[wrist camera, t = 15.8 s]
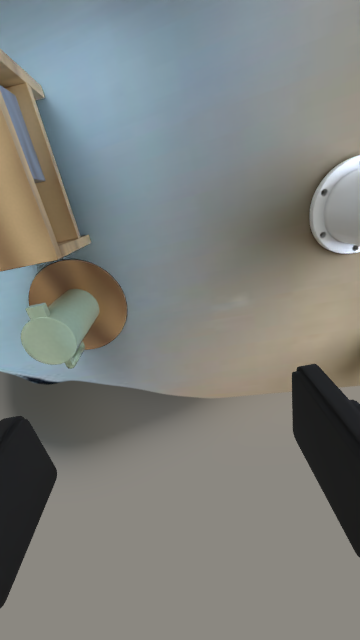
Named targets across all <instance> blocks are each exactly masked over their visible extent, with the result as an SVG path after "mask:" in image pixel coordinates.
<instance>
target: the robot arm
mask: <svg viewBox="0 0 360 640" xmlns="http://www.w3.org/2000/svg"><path fill="white" fill-rule="evenodd" d="M321 191H322V194H321ZM309 220H310V227H311V231H312V234H313V235H314V237H315V239H316V240H317V242H318V243H319V244H320V245H321V246H323V247H324V248H326V249H327V250H330V251H332V252H336V253H340V254H352V253H357V252H360V155H358V156H355V157H352V158H349V159H347V160H345V161H343V162H342V163H340V164H338V165H337V166H336V167H335V168H333V169H332V170H331V171H330V172H329V173H328V174H327V175H326V176H325V177H324V179H323V180H322V181H321V183H320V184H319V186H318V188H317V189H316V192H315V194H314V196H313V199H312V202H311V206H310V214H309ZM320 234H321V235H320ZM292 408H293V432H294V437H295V439H296V441H297V443H298V445H299V447H300V449H301V451H302V453H303V455H304V456H305V458H306V460H307V462H308V464H309V466H310V468H311V470H312V471H313V473H314V475H315V477H316V479H317V481H318V483H319V485H320V486H321V488H322V490H323V492H324V494H325V496H326V498H327V500H328V502H329V503H330V505H331V507H332V509H333V511H334V513H335V514H336V516H337V519H338V520H339V522H340V524H341V526H342V528H343V530H344V532H345V533H346V536H347V537H348V539H349V541H350V543H351V545H352V547H353V549H354V550H355V552H356V554H357V555H358V556H359V557H360V404H359V403H358V402H357V401H354V400H349V399H348V398H347V397H346V396H345V395H344V394H343V393H342V391H341V390H340V389H339V388H338V387H337V386H336V385H335V384H334V383H333V382H332V380H331V379H330V378H329V377H328V376H327V375H326V374H325V373H324V372H323V371H322V369H321V368H320V367H319V366H318V365H317V364H311V365H305V366H300V367H297V371H296V372H293V373H292ZM56 478H57V470H56V468H55V466H54V464H53V462H52V461H51V459H50V457H49V455H48V454H47V452H46V450H45V448H44V447H43V445H42V443H41V442H40V440H39V438H38V436H37V434H36V433H35V431H34V429H33V427H32V426H31V424H30V422H29V421H28V420H27V419H24V417H22V416H16V417H11V418H6V419H3V420H1V421H0V608H1V607H2V606H3V605H4V603H5V601H6V599H7V597H8V595H9V592H10V589H11V587H12V585H13V582H14V580H15V578H16V575H17V573H18V570H19V568H20V566H21V563H22V561H23V558H24V556H25V553H26V551H27V549H28V546H29V544H30V541H31V539H32V537H33V534H34V532H35V529H36V527H37V525H38V522H39V520H40V517H41V515H42V512H43V510H44V508H45V505H46V503H47V500H48V498H49V496H50V493H51V491H52V488H53V486H54V483H55V481H56Z"/></svg>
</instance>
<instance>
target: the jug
mask: <svg viewBox="0 0 360 640" xmlns="http://www.w3.org/2000/svg"><path fill="white" fill-rule="evenodd" d="M26 311H27V313H28V316H29V318H30V321H29V322H28V323H26V324H25V326H24V327H23V329H22V332H21V342H22V345H23V347H24V349H25V350H26V352H27V353H28V354H29V355H30V356H31V357H32V358H34V359H35V360H37V361H39V362H42V363H45V364H50V365H57V364H62V363H65V364H66V366H67V367H68V368H69V369H72V368H74V367H75V365H76V364H77V362H78V360H79V358H80V357H81V355H82V353H83V352H84V350H85V345H84V342H83V340H84V338H85V337H86V335H87V334H88V332H89V331H90V329H91V327H92V326H93V324H94V323H95V321H96V320H97V318H98V315H99V305H98V303H97V301H96V299H95V298H94V297H93V296H92V295H91V294H90V293H88V292H87V291H84V290H81V289H70V290H67V291H65V292H64V293H62V294H61V295H60V296H59V297H58V298H56V299H55V300H54V301H53V302H52V303H50V304H49V305H48V306H47V304H46V303H41V304H36V305H30V306H28V307H27V308H26Z"/></svg>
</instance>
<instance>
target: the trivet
mask: <svg viewBox="0 0 360 640" xmlns="http://www.w3.org/2000/svg"><path fill="white" fill-rule="evenodd" d="M70 289H81V290H84V291H87V292H88V293H90V294H91V295H92V296H93V297H94V298H95V299H96V301H97V303H98V305H99V315H98V318H97V320H96V321H95V323H94V324H93V326H92V327H91V329H90V331H89V332H88V334H87V335H86V337H85V338H84V340H83V342H84V345H85V350H88V349H95V348H99V347H102V346H104V345H106V344H108V343H110V342H111V341H113V340H114V339H115V338H116V337H117V336H118V335H119V333H120V332H121V330H122V329H123V327H124V324H125V321H126V317H127V303H126V298H125V295H124V293H123V291H122V289H121V287H120V285H119V284H118V282H117V281H116V280H115V279H114V278H113V277H112V276H111V275H110V274H109V273H108V272H107V271H105V270H104V269H102V268H101V267H99V266H97V265H95V264H93V263H90V262H87V261H83V260H76V259H68V260H61V261H58V262H55V263H52V264H50V265H48V266H47V267H45V268H44V269H42V270H41V271H40V272H39V273H38V274H37V276H36V277H35V278H34V280H33V282H32V284H31V287H30V291H29V306H30V305H36V304H41V303H46V304H47V306H48V305H49V304H50V303H52V302H53V301H54V300H55V299H56V298H58V297H59V296H60V295H61V294H62V293H64V292H65V291H67V290H70Z"/></svg>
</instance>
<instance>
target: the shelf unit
mask: <svg viewBox="0 0 360 640" xmlns="http://www.w3.org/2000/svg"><path fill="white" fill-rule="evenodd" d="M44 98H45V97H44V93H43V90H42V87H41V85H40V84H38V83H37V82H36V81H35V80H34V79H33V78H32V77H31V76H30V75H29V74H27V73H26V72H25V71H24V70H23V69H22V68H21V67H20V66H19V65H18V64H16V63H15V62H14V61H13V60H12V59H11V58H10V57H9V56H8V55H7V54H5V53H4V52H3V51H2V50H1V49H0V271H5V270H10V269H15V268H20V267H25V266H29V265H34V264H39V263H44V262H49V261H54V260H58V259H60V258H62V257H64V256H66V255H68V254H70V253H72V252H74V251H76V250H78V249H80V248H82V247H84V246H86V245H88V244H90V243H91V240H90V237H89V235H84V236H80V233H79V230H78V227H77V224H76V221H75V218H74V215H73V212H72V209H71V206H70V203H69V200H68V197H67V194H66V191H65V188H64V185H63V182H62V179H61V176H60V173H59V170H58V167H57V164H56V161H55V158H54V155H53V152H52V149H51V146H50V143H49V140H48V137H47V134H46V131H45V128H44V125H43V122H42V119H41V116H40V113H39V110H38V107H37V104H36V100H40V99H44Z"/></svg>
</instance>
